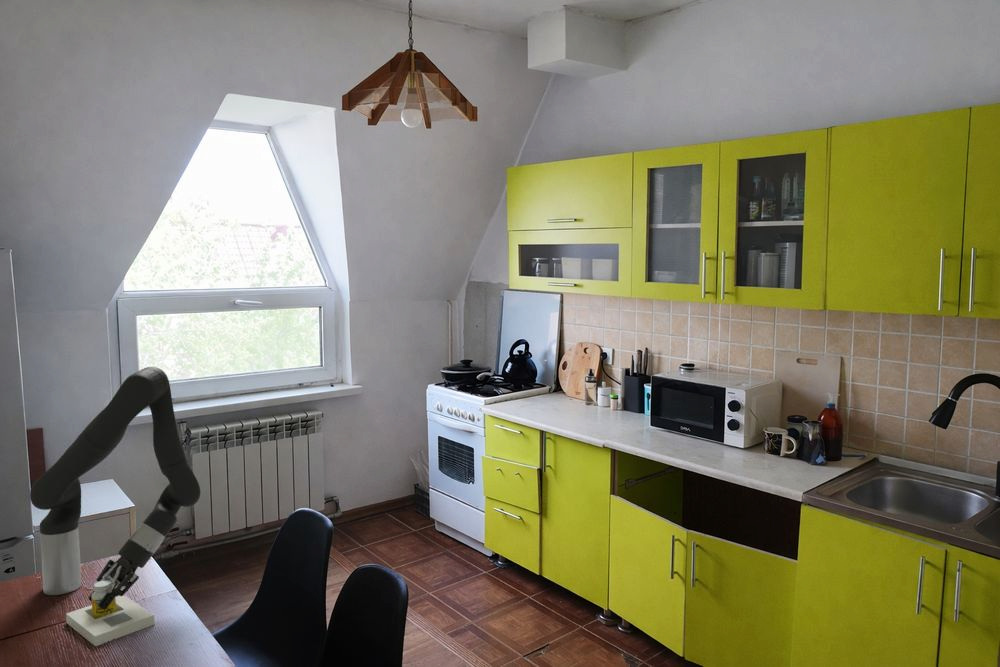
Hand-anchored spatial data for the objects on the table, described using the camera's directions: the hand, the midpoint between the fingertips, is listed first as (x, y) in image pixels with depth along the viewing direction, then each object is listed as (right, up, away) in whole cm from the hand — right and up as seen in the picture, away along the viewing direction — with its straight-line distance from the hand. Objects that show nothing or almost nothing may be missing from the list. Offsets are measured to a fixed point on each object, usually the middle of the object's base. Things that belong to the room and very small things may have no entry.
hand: (96, 604), depth 182 cm
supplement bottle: (+1, -5, +2) cm, 5 cm away
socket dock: (+4, -5, 0) cm, 6 cm away
